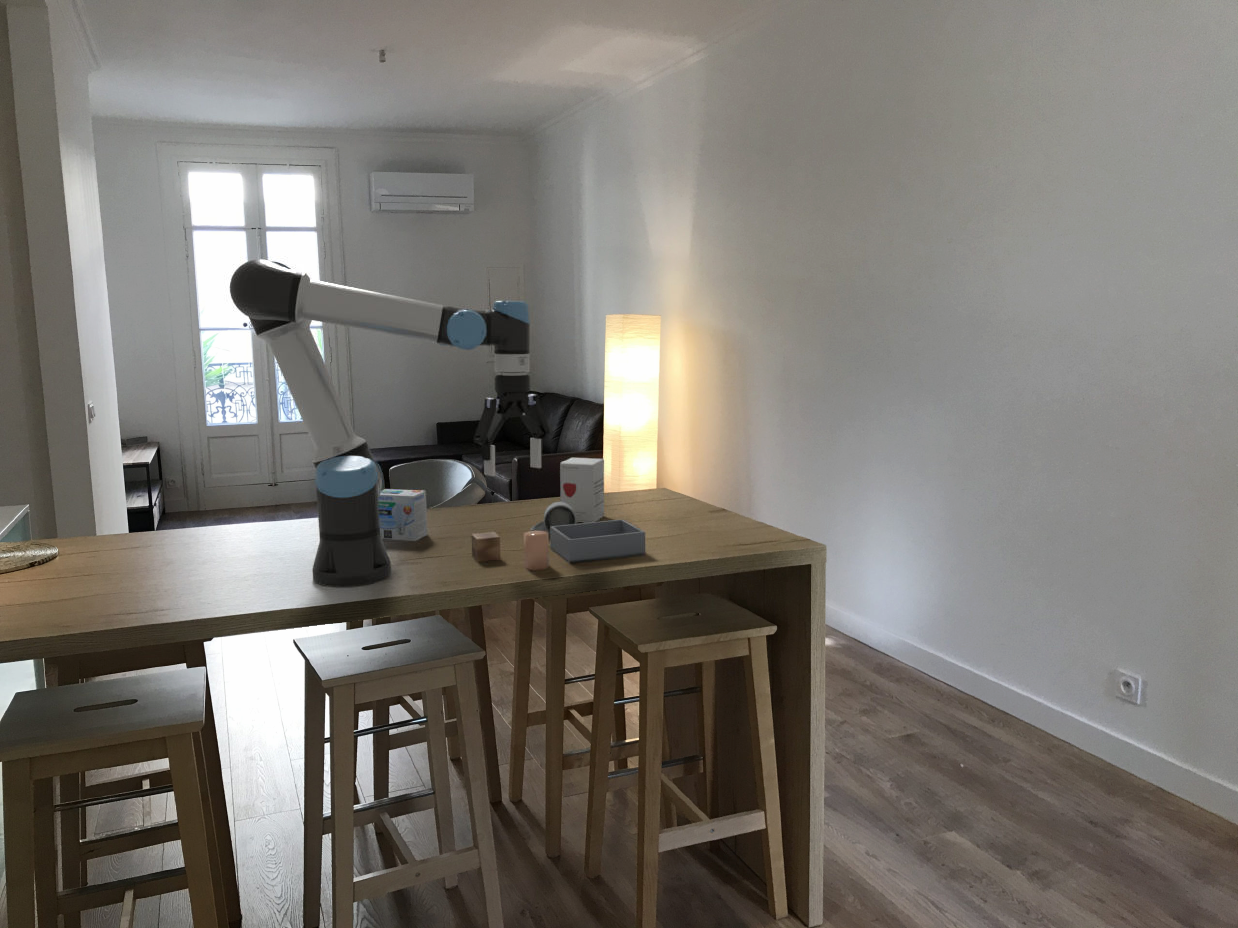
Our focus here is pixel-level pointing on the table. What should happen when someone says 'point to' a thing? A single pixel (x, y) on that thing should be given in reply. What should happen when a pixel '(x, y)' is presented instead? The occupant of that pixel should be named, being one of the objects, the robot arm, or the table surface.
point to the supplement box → (583, 487)
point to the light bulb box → (402, 514)
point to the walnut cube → (485, 546)
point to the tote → (597, 540)
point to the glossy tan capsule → (536, 550)
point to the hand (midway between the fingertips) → (513, 471)
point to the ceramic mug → (556, 517)
